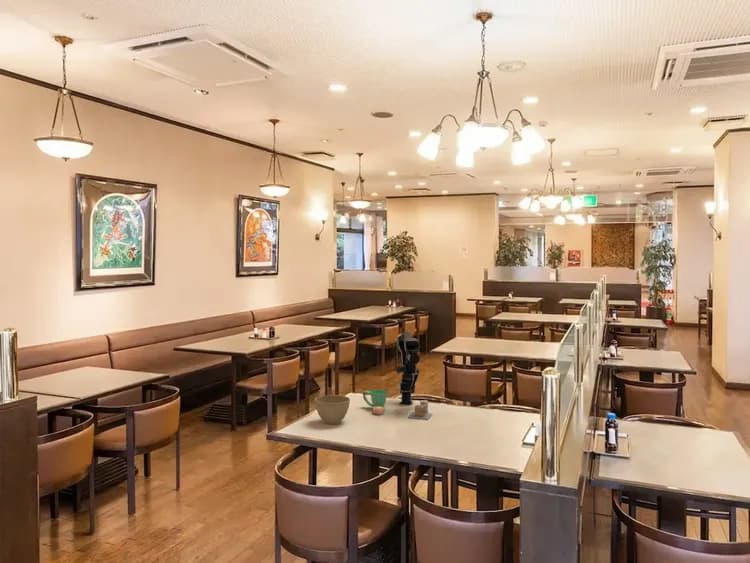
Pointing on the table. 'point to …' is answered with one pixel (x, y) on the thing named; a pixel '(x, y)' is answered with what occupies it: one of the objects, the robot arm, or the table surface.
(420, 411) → the walnut block
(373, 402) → the mug
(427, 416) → the slate coaster
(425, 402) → the light wood block
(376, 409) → the peach egg shape
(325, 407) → the flower pot
